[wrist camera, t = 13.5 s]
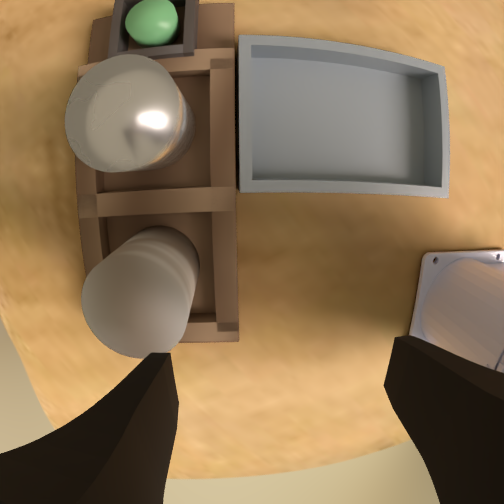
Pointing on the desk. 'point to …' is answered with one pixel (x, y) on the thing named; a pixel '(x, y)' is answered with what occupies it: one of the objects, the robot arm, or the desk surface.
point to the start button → (153, 23)
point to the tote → (339, 119)
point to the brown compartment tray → (167, 202)
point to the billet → (128, 116)
